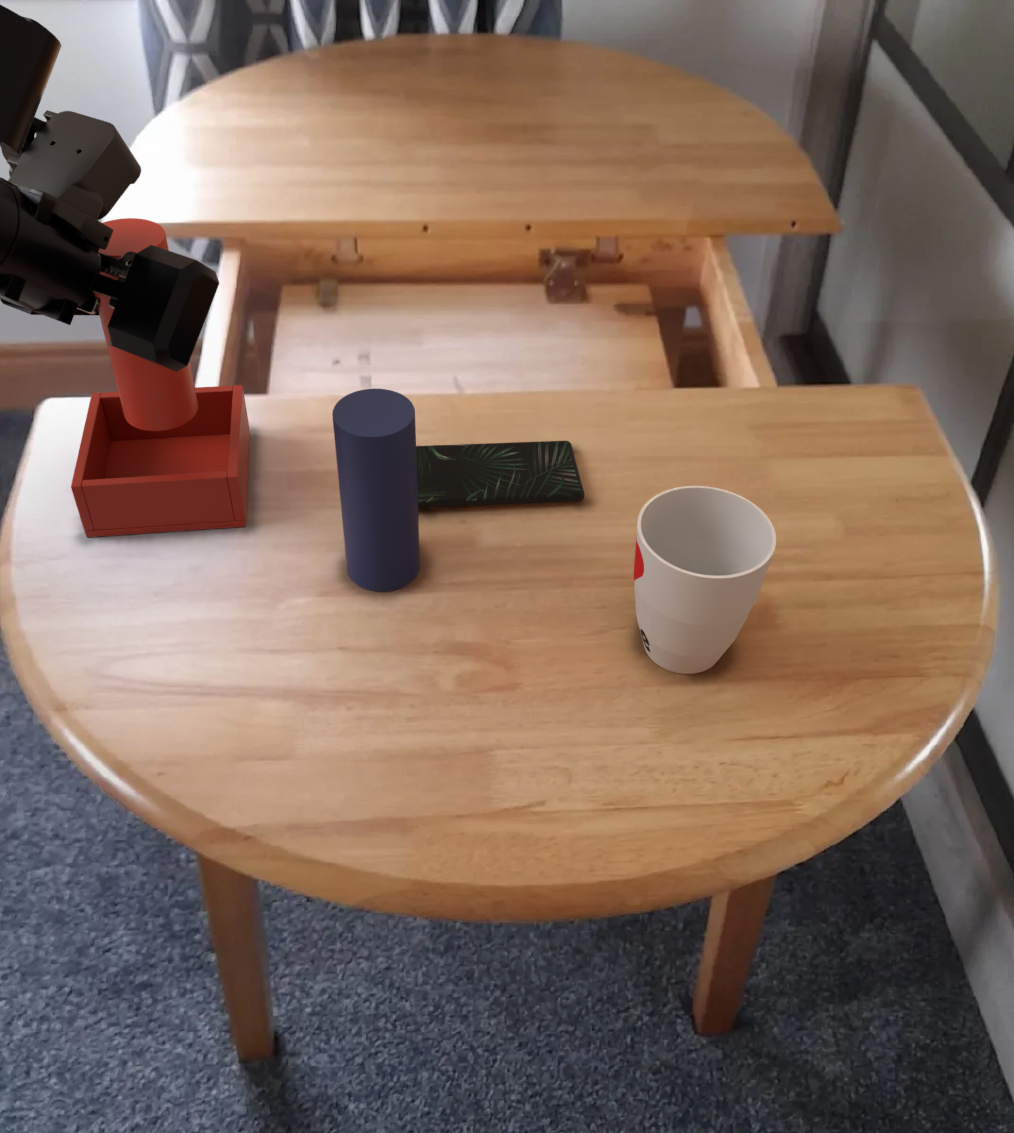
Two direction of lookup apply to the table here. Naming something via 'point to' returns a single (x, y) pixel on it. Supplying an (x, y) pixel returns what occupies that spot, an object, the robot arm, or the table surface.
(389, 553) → the navy cylinder
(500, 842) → the table surface
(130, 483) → the red bin
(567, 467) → the smartphone
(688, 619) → the cup
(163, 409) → the red cylinder
